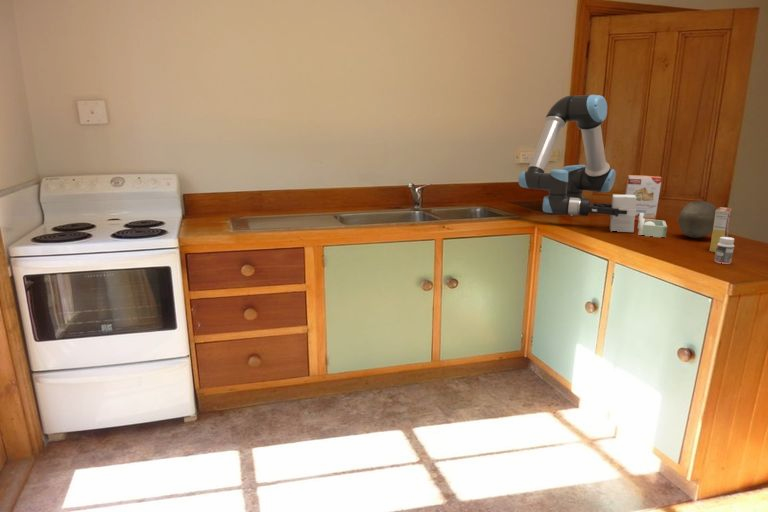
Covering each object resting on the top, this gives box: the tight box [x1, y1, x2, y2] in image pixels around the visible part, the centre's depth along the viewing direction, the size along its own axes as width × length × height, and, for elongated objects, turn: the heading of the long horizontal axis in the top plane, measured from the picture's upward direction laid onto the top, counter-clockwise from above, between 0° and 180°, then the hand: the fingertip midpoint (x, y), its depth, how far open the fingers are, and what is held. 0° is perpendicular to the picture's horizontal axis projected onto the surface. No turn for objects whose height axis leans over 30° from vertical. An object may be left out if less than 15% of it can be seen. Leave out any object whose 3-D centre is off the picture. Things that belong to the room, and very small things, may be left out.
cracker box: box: [624, 174, 663, 222], centre depth 239 cm, size 14×6×21 cm, turn 68°
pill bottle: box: [714, 236, 735, 265], centre depth 168 cm, size 5×5×8 cm
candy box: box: [709, 206, 733, 253], centre depth 183 cm, size 9×4×15 cm, turn 140°
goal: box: [637, 213, 668, 239], centre depth 212 cm, size 16×10×7 cm, turn 155°
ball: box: [644, 221, 656, 226], centre depth 212 cm, size 5×5×5 cm
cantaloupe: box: [678, 200, 718, 239], centre depth 202 cm, size 14×14×15 cm
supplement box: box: [609, 193, 637, 233], centre depth 216 cm, size 9×9×15 cm
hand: (635, 210), depth 214 cm, fingers open, 10 cm apart
